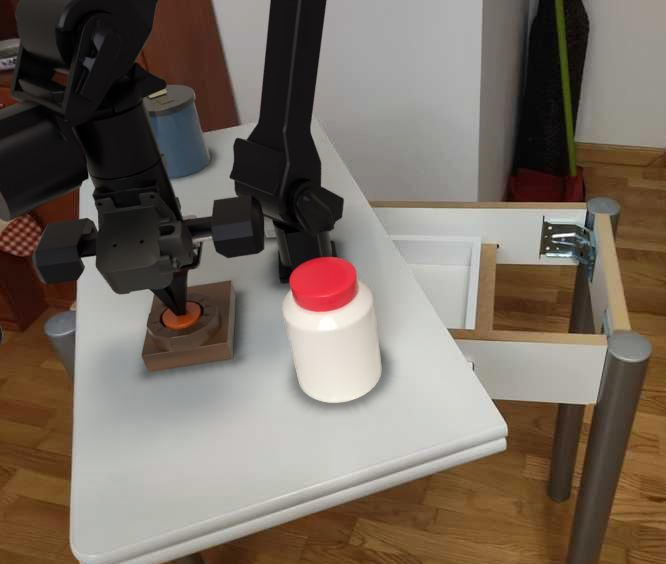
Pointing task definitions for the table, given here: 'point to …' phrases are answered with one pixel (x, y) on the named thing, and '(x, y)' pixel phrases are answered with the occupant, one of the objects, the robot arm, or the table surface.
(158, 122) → the travel cup
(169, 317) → the button
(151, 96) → the cream wedge block
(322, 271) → the pill bottle
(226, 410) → the table surface
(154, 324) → the button block
